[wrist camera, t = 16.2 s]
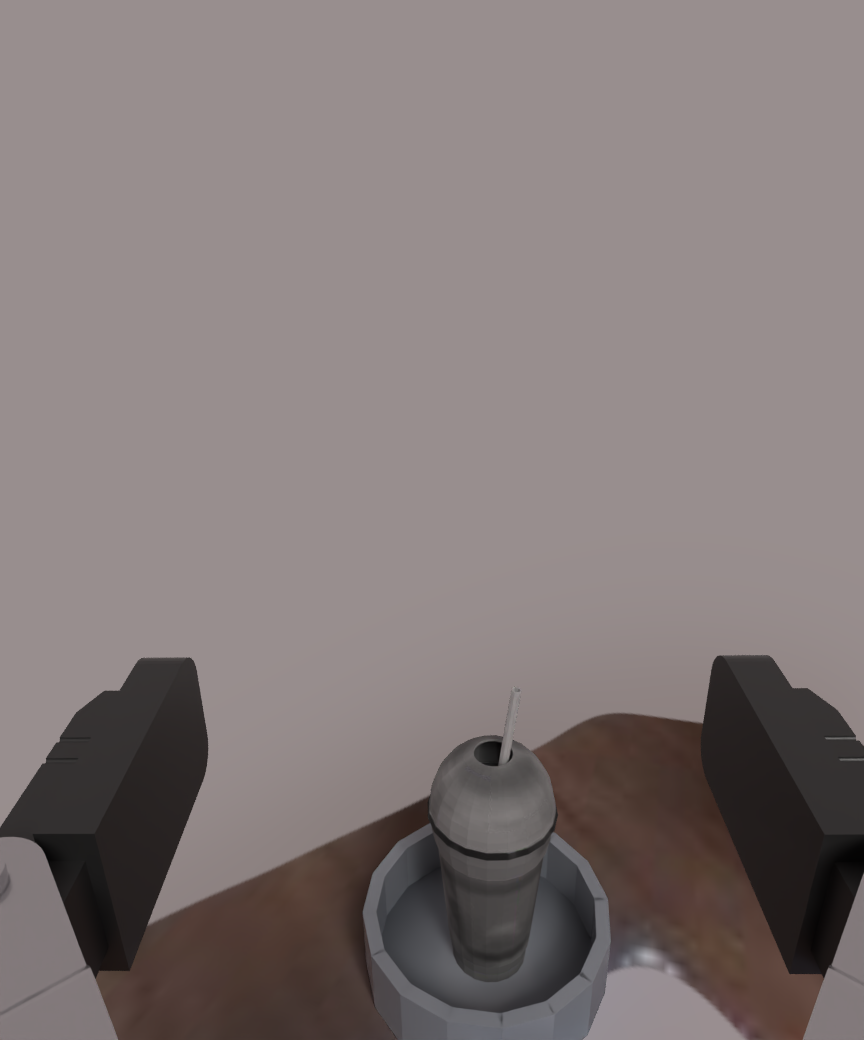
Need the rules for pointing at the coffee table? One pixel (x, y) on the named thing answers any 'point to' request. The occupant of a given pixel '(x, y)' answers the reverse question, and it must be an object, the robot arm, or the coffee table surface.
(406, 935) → the bowl
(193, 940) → the coffee table surface
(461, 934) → the beverage cup
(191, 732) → the robot arm
